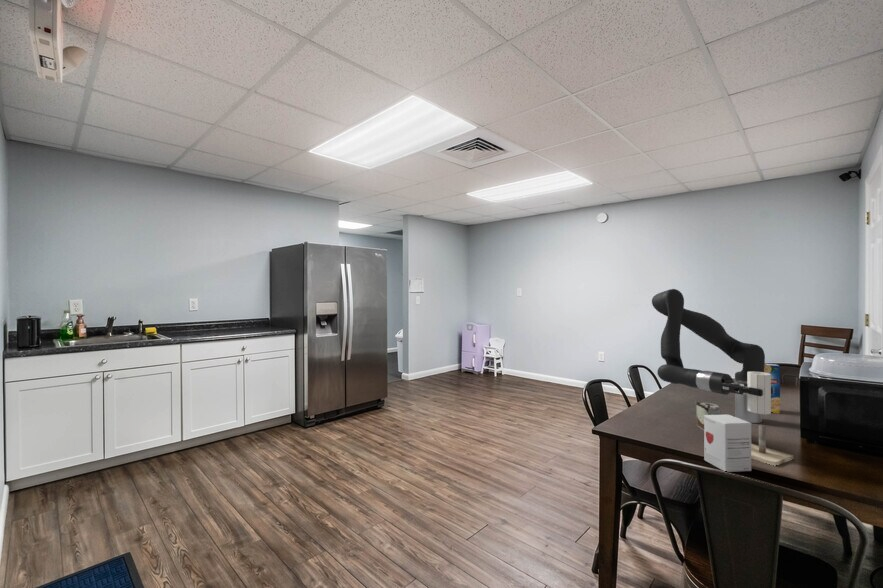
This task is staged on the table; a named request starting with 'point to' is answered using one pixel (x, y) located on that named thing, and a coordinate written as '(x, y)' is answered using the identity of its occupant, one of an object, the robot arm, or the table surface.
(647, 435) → the table surface
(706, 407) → the food container
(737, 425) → the supplement box
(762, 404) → the roll
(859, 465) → the table surface
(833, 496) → the table surface
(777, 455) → the stand
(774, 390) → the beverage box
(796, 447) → the table surface
